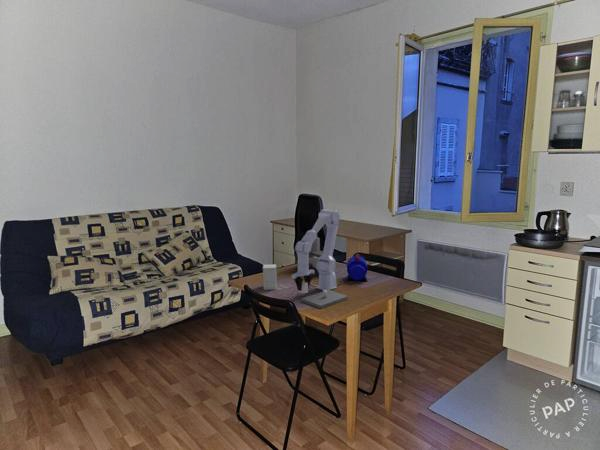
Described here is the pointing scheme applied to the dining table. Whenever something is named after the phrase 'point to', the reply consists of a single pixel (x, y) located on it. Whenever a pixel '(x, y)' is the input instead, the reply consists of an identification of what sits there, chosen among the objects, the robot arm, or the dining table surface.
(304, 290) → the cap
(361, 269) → the alarm clock
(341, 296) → the post board
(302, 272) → the robot arm
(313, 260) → the juicer
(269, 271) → the supplement box
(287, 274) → the dining table surface
